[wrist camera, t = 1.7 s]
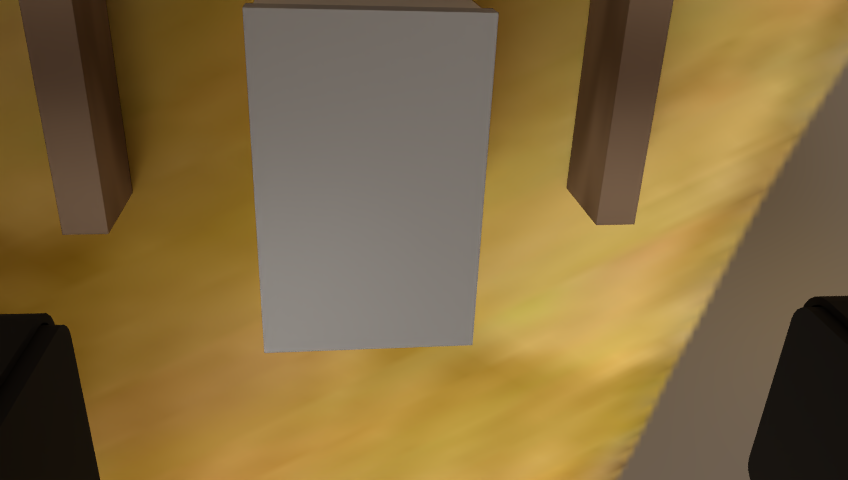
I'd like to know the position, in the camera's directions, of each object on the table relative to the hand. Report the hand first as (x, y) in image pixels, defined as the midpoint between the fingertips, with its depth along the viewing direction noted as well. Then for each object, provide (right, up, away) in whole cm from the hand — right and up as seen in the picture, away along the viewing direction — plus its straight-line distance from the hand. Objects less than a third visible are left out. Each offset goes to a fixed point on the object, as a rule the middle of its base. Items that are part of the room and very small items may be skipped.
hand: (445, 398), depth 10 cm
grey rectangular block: (-2, +6, +13) cm, 15 cm away
